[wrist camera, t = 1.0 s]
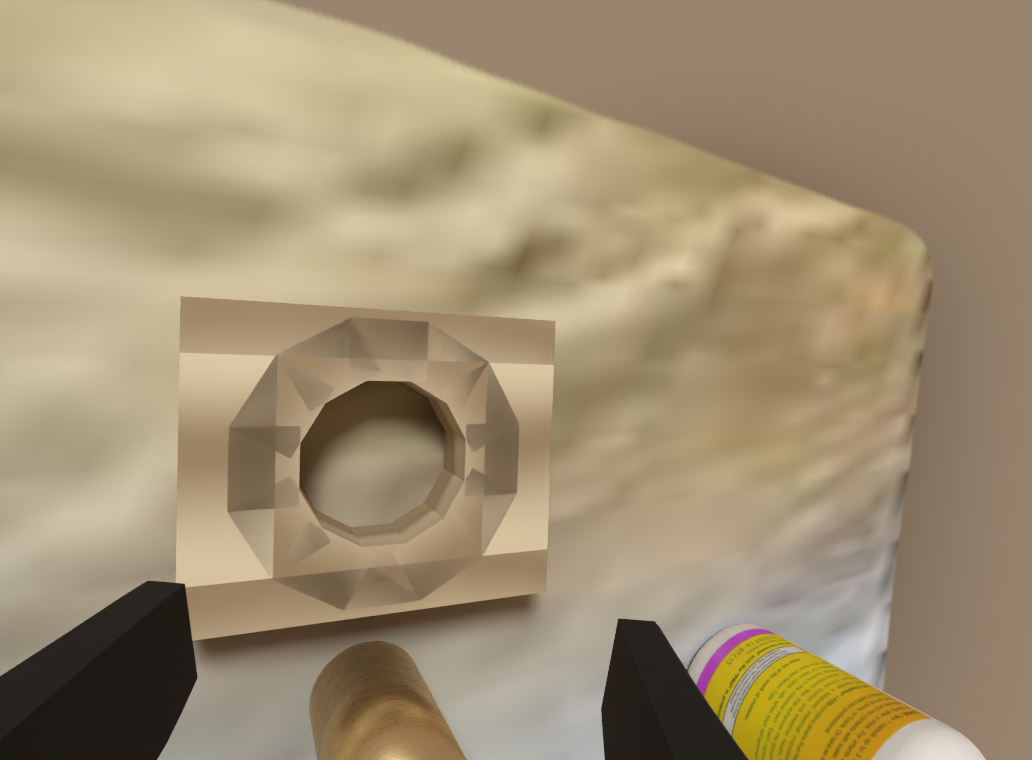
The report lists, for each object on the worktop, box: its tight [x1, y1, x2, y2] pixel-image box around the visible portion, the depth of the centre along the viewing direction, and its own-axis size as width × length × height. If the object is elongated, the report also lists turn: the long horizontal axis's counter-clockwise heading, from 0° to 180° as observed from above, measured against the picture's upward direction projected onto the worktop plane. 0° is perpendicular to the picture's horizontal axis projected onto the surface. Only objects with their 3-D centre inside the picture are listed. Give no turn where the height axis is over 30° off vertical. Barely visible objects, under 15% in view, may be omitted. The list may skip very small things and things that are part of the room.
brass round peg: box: [309, 641, 466, 760], centre depth 19 cm, size 4×4×7 cm
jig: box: [176, 296, 555, 641], centre depth 21 cm, size 10×12×2 cm
